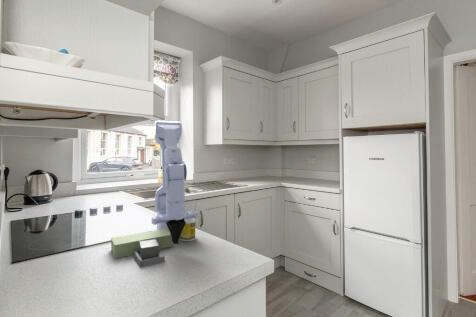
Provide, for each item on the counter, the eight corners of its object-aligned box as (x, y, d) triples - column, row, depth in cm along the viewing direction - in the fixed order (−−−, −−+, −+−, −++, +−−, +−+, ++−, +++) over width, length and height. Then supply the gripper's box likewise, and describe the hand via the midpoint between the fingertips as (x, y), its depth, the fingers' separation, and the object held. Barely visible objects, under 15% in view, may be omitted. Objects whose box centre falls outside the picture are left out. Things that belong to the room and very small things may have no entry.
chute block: (139, 255, 79) (139, 241, 78) (156, 252, 81) (155, 239, 81) (141, 263, 73) (141, 248, 73) (159, 260, 75) (158, 245, 75)
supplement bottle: (192, 242, 90) (192, 215, 90) (178, 241, 91) (177, 214, 91) (197, 237, 95) (197, 211, 95) (184, 236, 96) (184, 210, 96)
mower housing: (111, 249, 82) (111, 237, 82) (165, 239, 92) (165, 228, 92) (120, 271, 68) (120, 257, 68) (184, 256, 78) (184, 243, 78)
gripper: (156, 206, 73) (156, 252, 74) (201, 200, 81) (201, 242, 82) (149, 201, 79) (149, 244, 80) (192, 197, 87) (192, 236, 88)
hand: (175, 242), depth 81 cm, fingers closed
